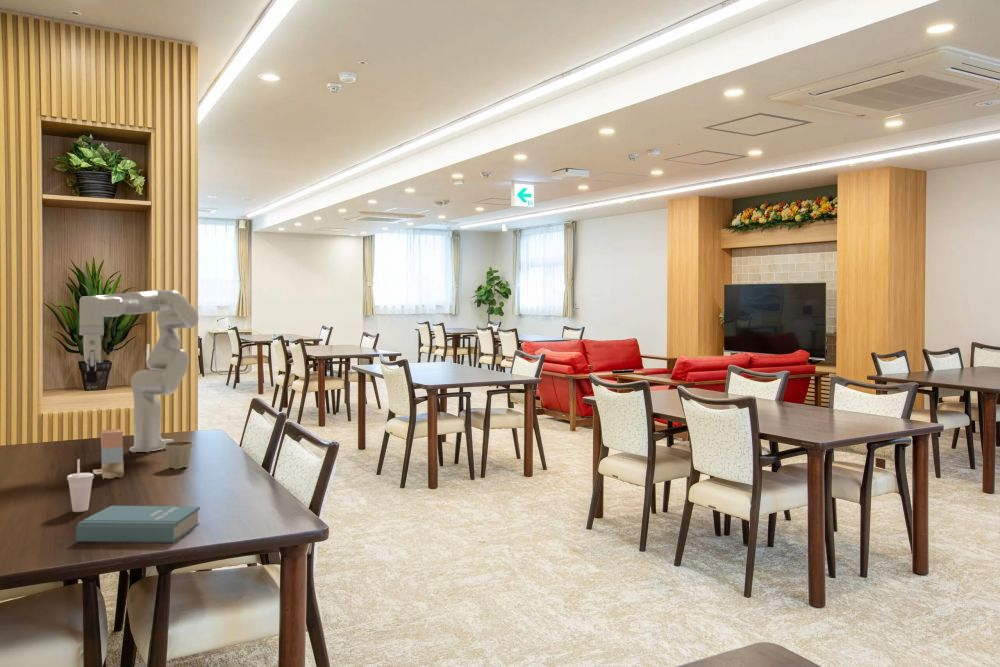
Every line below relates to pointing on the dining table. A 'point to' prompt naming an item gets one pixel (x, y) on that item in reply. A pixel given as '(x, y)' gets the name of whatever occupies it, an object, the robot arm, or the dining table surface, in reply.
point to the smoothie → (80, 489)
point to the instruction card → (97, 471)
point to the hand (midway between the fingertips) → (91, 382)
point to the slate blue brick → (112, 455)
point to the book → (138, 524)
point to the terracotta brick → (111, 438)
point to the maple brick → (113, 470)
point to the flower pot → (178, 453)
